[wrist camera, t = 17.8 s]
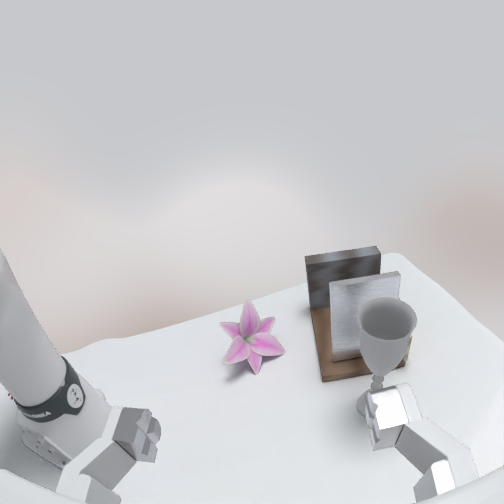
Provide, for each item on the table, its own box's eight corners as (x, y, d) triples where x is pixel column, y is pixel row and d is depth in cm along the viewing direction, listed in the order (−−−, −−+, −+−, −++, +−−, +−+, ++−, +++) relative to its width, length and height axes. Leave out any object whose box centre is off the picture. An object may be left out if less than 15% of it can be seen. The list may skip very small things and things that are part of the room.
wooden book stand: (322, 382, 46) (320, 329, 41) (309, 306, 64) (304, 256, 58) (405, 366, 45) (417, 311, 39) (375, 295, 62) (377, 245, 57)
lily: (220, 387, 50) (231, 365, 44) (204, 330, 58) (212, 301, 51) (282, 374, 55) (302, 352, 49) (262, 322, 62) (277, 294, 56)
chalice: (343, 396, 43) (345, 308, 34) (380, 379, 44) (393, 290, 35) (363, 431, 36) (378, 349, 28) (403, 411, 37) (429, 325, 29)
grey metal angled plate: (332, 361, 47) (330, 287, 40) (325, 325, 55) (320, 253, 48) (397, 349, 46) (408, 274, 39) (383, 315, 54) (387, 243, 47)
